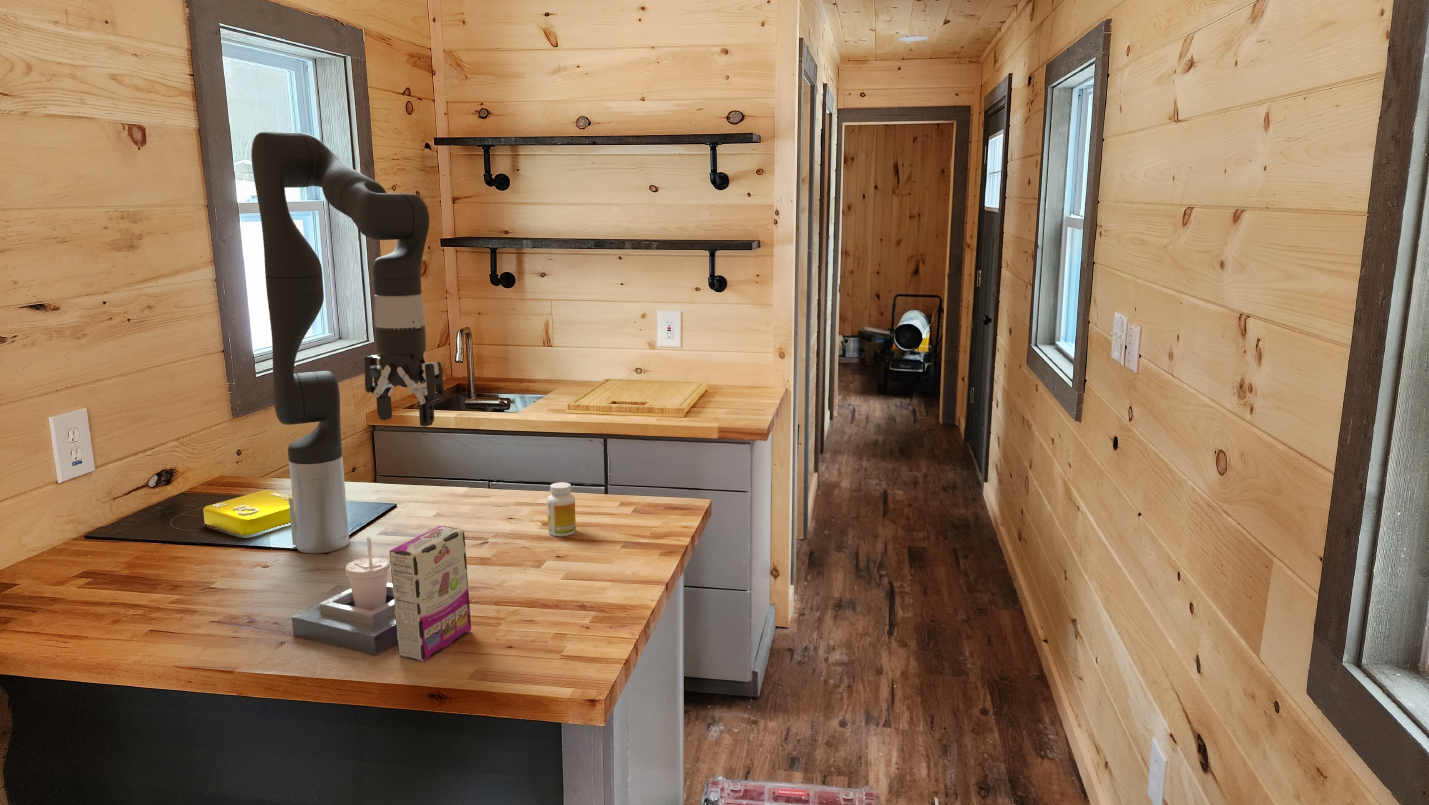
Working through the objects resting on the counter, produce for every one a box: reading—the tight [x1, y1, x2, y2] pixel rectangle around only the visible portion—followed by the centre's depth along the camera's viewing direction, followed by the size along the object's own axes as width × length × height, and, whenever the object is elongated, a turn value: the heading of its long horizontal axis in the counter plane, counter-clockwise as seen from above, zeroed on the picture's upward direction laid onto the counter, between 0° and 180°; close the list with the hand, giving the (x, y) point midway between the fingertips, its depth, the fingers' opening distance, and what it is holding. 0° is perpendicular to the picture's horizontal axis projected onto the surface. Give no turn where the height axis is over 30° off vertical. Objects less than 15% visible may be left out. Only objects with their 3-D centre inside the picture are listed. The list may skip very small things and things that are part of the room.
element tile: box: [202, 489, 292, 535], centre depth 191 cm, size 15×15×5 cm
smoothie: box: [345, 536, 391, 611], centre depth 144 cm, size 6×6×14 cm
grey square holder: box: [291, 581, 398, 657], centre depth 145 cm, size 16×16×4 cm
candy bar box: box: [388, 525, 472, 662], centre depth 138 cm, size 11×5×16 cm, turn 157°
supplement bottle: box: [546, 481, 577, 537], centre depth 185 cm, size 5×5×10 cm
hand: (406, 422), depth 152 cm, fingers open, 8 cm apart
